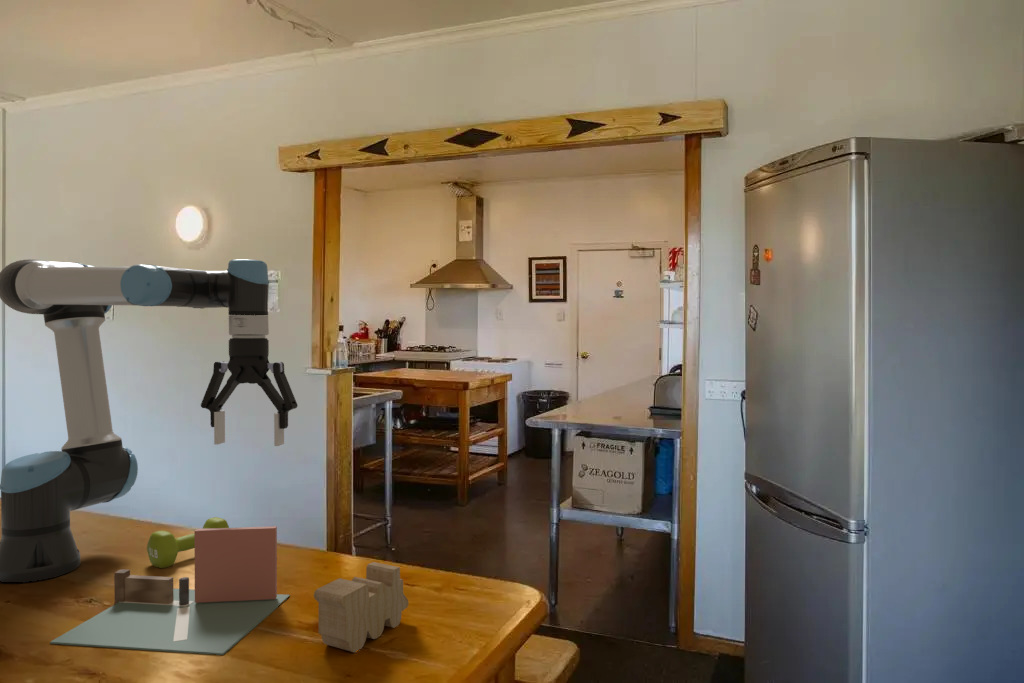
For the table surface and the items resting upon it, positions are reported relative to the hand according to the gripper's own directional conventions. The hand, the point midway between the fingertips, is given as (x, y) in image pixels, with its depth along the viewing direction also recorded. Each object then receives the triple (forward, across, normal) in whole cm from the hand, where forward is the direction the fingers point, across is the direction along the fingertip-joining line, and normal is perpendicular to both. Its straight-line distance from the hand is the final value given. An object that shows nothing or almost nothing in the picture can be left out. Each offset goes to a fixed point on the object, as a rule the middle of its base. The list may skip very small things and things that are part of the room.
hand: (249, 444), depth 142 cm
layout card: (+26, -2, -22) cm, 34 cm away
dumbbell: (+27, -18, +8) cm, 33 cm away
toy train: (+27, +32, -24) cm, 48 cm away
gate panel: (+26, +5, -14) cm, 30 cm away
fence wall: (+26, -10, -16) cm, 33 cm away
